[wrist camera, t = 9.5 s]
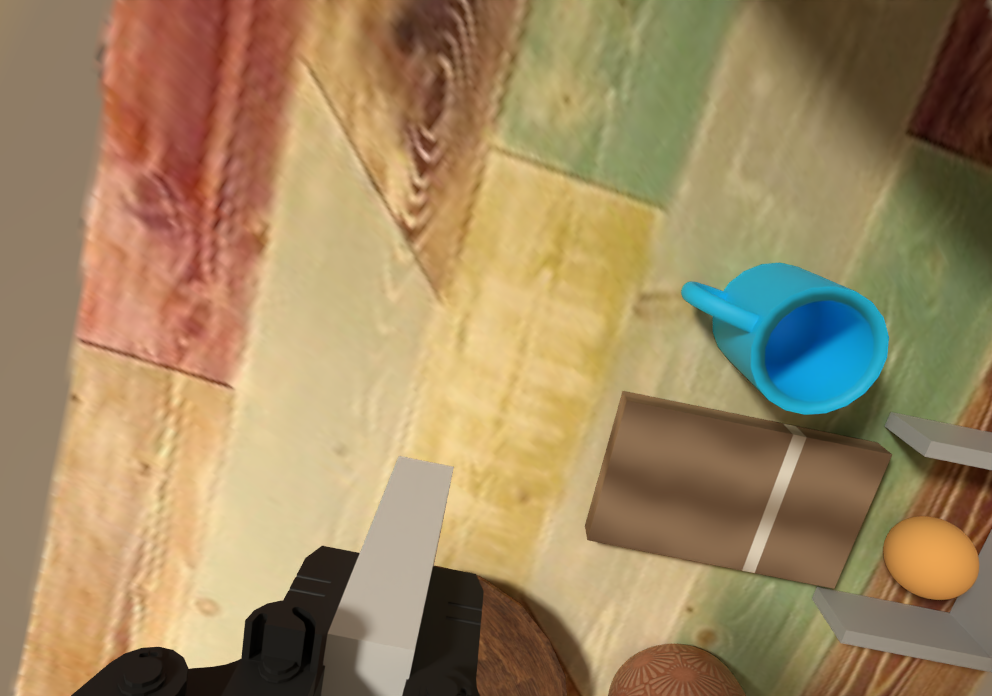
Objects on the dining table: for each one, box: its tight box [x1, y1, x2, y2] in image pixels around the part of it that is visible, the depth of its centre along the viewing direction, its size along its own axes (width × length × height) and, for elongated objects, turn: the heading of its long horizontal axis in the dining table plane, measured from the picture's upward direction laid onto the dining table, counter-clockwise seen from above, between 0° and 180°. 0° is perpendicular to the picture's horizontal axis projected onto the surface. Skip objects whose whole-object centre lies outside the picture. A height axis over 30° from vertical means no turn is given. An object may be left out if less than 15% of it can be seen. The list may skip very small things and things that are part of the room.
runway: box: [585, 391, 892, 589], centre depth 49 cm, size 12×20×2 cm, turn 79°
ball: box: [883, 516, 979, 600], centre depth 48 cm, size 6×6×6 cm
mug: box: [681, 263, 889, 415], centre depth 42 cm, size 12×8×8 cm
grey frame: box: [812, 412, 992, 672], centre depth 48 cm, size 17×13×5 cm
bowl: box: [437, 566, 567, 696], centre depth 54 cm, size 20×22×5 cm
